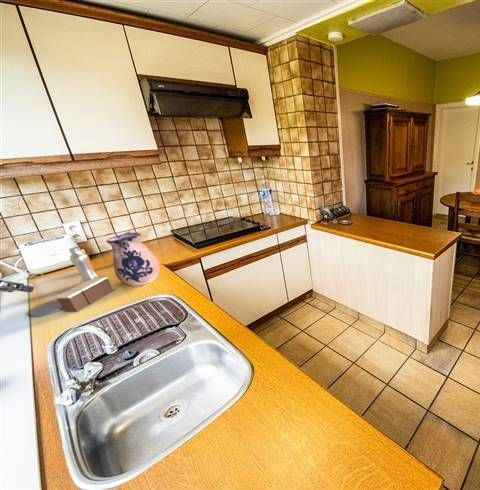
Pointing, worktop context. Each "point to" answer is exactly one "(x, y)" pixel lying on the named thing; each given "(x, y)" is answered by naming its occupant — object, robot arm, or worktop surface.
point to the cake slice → (72, 300)
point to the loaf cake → (94, 288)
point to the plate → (46, 308)
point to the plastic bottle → (82, 264)
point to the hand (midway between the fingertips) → (22, 289)
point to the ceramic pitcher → (133, 260)
